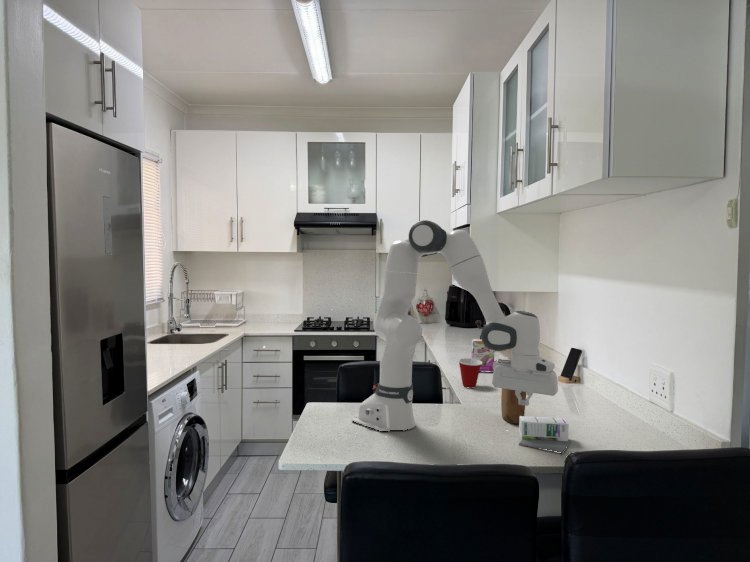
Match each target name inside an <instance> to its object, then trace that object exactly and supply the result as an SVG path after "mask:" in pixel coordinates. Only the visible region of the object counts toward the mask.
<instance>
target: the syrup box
mask: <svg viewBox="0 0 750 562" xmlns="http://www.w3.org/2000/svg"><path fill="white" fill-rule="evenodd" d="M518 433H519V436H520V438H521V440H522V439H536V440H554V441H568V440H569V422H568V421H567V420H566V419H565V418H564V417H548V416H547V417H545V416H525V415H524V416H520V417H519V424H518Z"/></svg>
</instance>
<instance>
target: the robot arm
mask: <svg viewBox="0 0 750 562" xmlns="http://www.w3.org/2000/svg"><path fill="white" fill-rule="evenodd" d="M436 254H441V255H442V256H443V257H444V259H445V261H446V262H447V263H446V264H447V265H448V267H449V270H450V272H451V274H452V276H453V278H454V280H455V281H456V282H457V285H458V286H459V287H460V288H462V289H464V291H465V290H466V291H468V292H469V293H470V294H471V295H472V296H473V297H474V299H475V300H476V303H477V304H478V306H479V308H480V310H481V312H482V315H483V317H484V319H485V325H484V326H483V327H484V328H483V329H481V331H480V335H481V340H482V342H483V344H484V345H485V346H486V347H487V348H489V349H491V350H496V351H504V350H510V359H502V358H497V359H494V362H493V370H494V372H492V381H491V382H492V383H491V384H492V386H493V387H494V388H498V389H502V388H503V389H510V390H515V394H516V396H517V398H518V399H519V401H518V404H519V405H525V407H528V406H529V405H530V400H531V398H532V396H533V395H534V394H539V395H545V396H552V397H554V396H555V395H556V394H557V393H558V391H559V385H558V383H559V382H558V376H557V373H556V372H555V370H554V369H555V363H554V362H553V361H550V360H548V359H546V358H544V357H541V356H540V350H539V345H540V340H541V329H540V328H541V327H540V321H539V318H538V316H537V315H536V314H534V313H533V312H530V311H529V312H528V311H526V310H525V311H524V310H514V312H513V311H512V313H511V314H508V315H506V314H505V313H504V311H503V309H502V308H501V306H500V304H499V301H498V299H497V298H496V295H495V293H494V291H493V289H492V287H491V286H492V285H491V283H490V279H489V275H488V271H487V268H486V265H485V262H484V259H483V257H482V254H481V253H480V250H479V249H478V247H477V245H476V243H475V241H474V240H473V238H472V237H471V235H470V234H469V232H467V230H464V229H455V230H454V229H453V230H452V231H448V232H447V231H446V230H445V229H443V228H442V226H440V225H439V224H438V223H436V222H433V221H432V220H428V219H427V220H426V219H423V220H419V221H417V222H415V223H414V224H413V225H412V226H411V227H410V229H409V231H408V238H407V239H398V240H395V241H393V242H392V243H391V244H390V246H389V249H388V253H387V257H386V261H385V262H386V263H385V267H384V268H385V269H384V271H385V272H384V281H383V283H384V284H383V292H382V297H381V301H380V304H379V306H378V312H377V314H376V316H375V317H374V318H373V322H372V327H373V330H374V332H375V335H377V336H378V338H379V339H381V340H383V341H384V342H385V347H384V352H383V356H382V357H381V358H380V361H379V382H378V383H375V385H373V386H372V387H373V388H372V390H375V391H374V393H373V394H371V395H370V396H369V397H368V398H366V399H364V401H362V402H361V404H360V405H359V408H358V413H357V414H355V415H353V416H352V418H351V422H352V421H354V422H357V423H360V424H363V425H366V426H369V427H372V428H374V429H377V430H379V431H378V432H380V431H388V432H391V431H390V430H403V431H407V429H408V430H411V429H414V428H415V427H416V426H417V423H416V420H415V416H414V411H413V410H414V408H413V398H414V397H413V395H414V390H413V389H414V387H413V386H414V385H413V382H412V380H413V377H412V375H413V359H414V354H415V351H416V347H417V345H418V343H419V342H420V341H421V339H422V335H423V328H422V325H421V324H420V322H419V321H418V320H417V319H415V317H413V316H411V315H410V314H408V313H409V310H410V306H411V303H412V301H414V299H415V297H416V293H417V292H416V291H417V290H416V289H417V282H418V281H417V280H418V270H419V269H418V268H419V262H420V259H421V258H425V257H428V256H432V255H436ZM496 351H495V352H496ZM521 391H523V392H526V399H523V398H522V397H521V395H520V393H521ZM374 429H373V430H374ZM377 430H376V431H377Z"/></svg>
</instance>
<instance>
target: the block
mask: <svg viewBox="0 0 750 562" xmlns="http://www.w3.org/2000/svg"><path fill="white" fill-rule="evenodd" d="M520 395H521V397H522V398H523V399H527V392H523V391H521V393H520ZM500 401H501V403H500V404H501V405H500V406H501V408H500V409H501V418H502V419H503V421H506V422H508V423H509V424H515V425H516V424H517V425H519V417H520V416H525V414H526V413H525V410H526V406H525V405H519V404H518V401H519V399H518V398H517V396H516V394H515V390H510V389H503V388H501V400H500Z"/></svg>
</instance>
